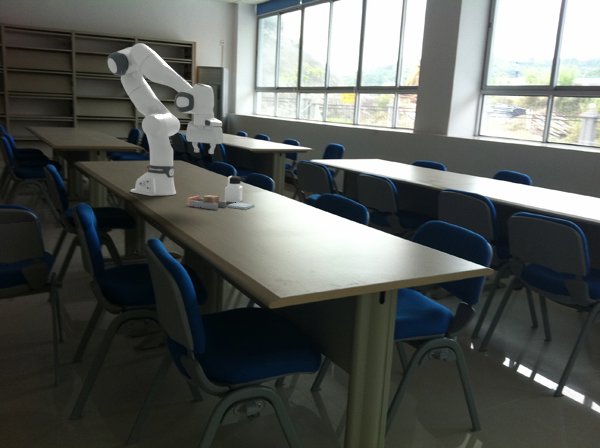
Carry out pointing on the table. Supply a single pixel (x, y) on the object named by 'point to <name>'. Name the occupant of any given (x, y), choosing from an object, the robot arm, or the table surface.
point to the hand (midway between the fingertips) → (203, 153)
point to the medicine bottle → (233, 189)
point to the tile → (241, 205)
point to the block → (211, 199)
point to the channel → (204, 203)
